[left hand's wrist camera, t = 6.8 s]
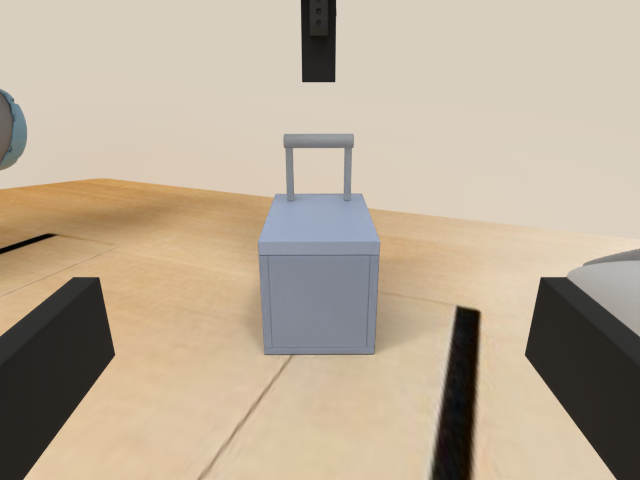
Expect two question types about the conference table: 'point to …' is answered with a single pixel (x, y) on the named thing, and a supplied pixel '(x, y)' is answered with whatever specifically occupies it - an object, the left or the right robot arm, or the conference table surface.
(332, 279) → the chest
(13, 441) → the left robot arm
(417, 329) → the conference table surface
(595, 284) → the projector
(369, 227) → the lid
